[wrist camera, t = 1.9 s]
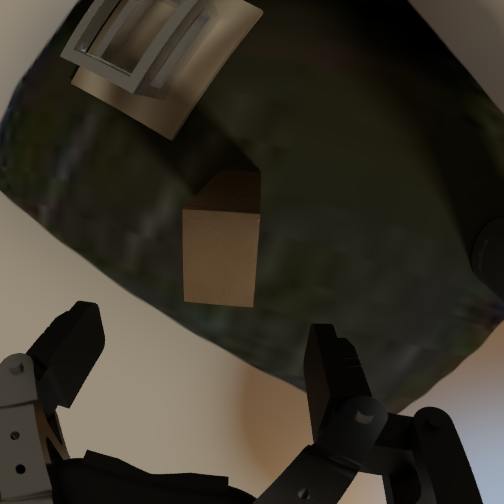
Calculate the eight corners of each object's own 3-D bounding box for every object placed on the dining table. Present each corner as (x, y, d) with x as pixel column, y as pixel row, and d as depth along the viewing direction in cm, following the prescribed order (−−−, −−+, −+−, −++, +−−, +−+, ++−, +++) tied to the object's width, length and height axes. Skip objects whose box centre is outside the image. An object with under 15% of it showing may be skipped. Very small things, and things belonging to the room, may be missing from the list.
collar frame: (220, 19, 24) (207, -12, 17) (164, 100, 27) (132, 93, 20) (154, -10, 23) (125, -40, 15) (101, 67, 26) (59, 56, 19)
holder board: (262, 13, 25) (263, 10, 24) (173, 140, 30) (170, 140, 29) (154, -33, 22) (151, -37, 21) (75, 83, 27) (70, 83, 26)
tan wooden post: (261, 171, 31) (260, 214, 16) (256, 225, 33) (252, 309, 18) (220, 169, 31) (182, 209, 16) (218, 223, 33) (184, 303, 18)
